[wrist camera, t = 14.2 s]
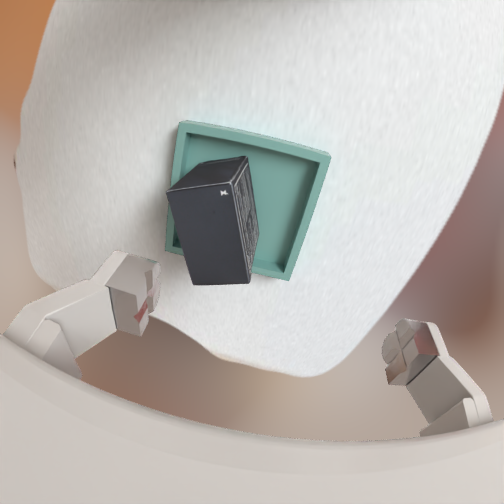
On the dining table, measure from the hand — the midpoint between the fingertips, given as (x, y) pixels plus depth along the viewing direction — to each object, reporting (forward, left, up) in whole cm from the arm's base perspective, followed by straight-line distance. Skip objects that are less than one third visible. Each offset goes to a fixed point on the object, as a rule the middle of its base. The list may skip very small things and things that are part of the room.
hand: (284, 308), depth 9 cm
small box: (+7, -5, -26) cm, 27 cm away
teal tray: (+7, -4, -26) cm, 27 cm away
